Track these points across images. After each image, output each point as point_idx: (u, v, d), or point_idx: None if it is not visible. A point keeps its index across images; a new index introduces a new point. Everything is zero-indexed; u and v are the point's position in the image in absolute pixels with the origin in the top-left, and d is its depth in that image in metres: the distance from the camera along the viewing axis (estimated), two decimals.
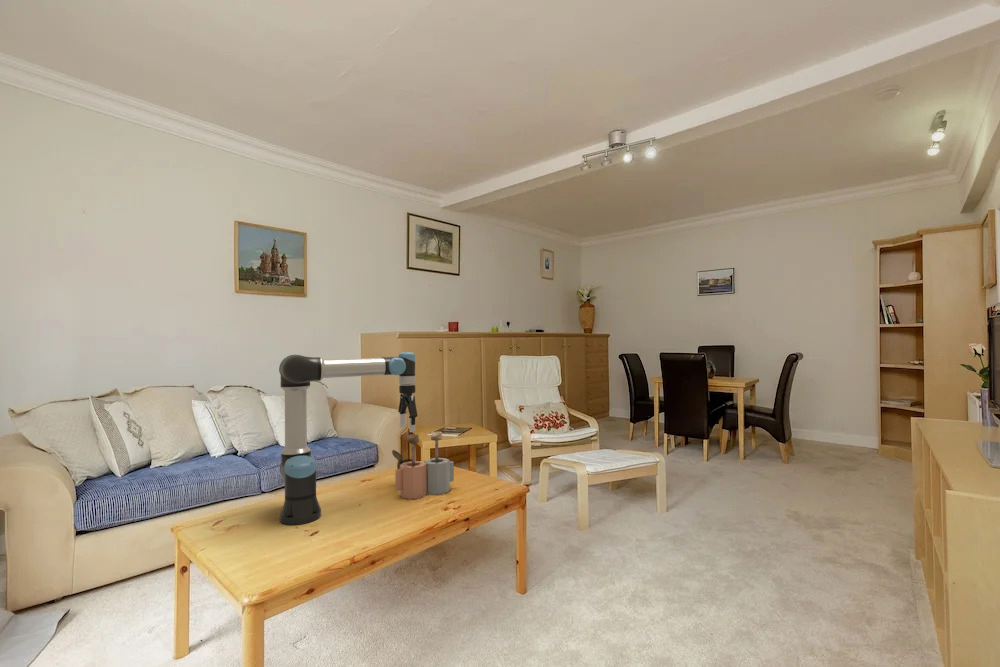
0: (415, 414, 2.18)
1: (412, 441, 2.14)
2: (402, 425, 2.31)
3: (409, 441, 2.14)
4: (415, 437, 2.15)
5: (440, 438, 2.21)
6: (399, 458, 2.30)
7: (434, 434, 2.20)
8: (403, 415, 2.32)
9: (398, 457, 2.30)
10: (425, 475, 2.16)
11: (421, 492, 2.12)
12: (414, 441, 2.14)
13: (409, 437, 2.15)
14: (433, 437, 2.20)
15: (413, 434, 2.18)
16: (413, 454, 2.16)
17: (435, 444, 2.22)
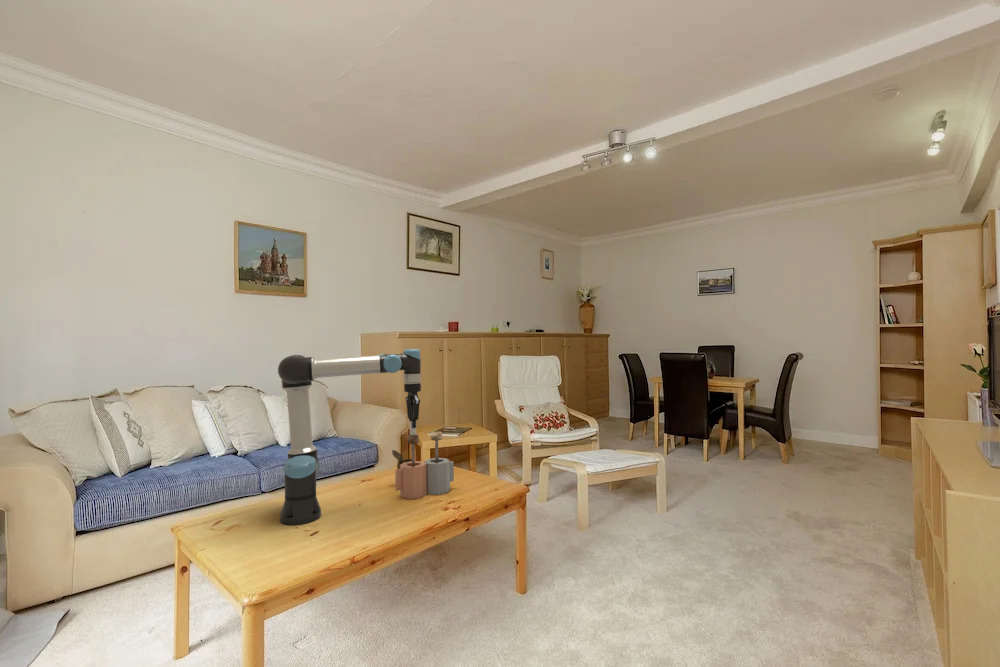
0: (416, 418, 2.14)
1: (412, 441, 2.14)
2: None
3: (409, 441, 2.14)
4: (415, 437, 2.15)
5: (440, 438, 2.21)
6: (399, 458, 2.30)
7: (434, 434, 2.20)
8: None
9: (398, 457, 2.30)
10: (425, 475, 2.16)
11: (421, 492, 2.12)
12: (414, 441, 2.14)
13: (409, 437, 2.15)
14: (433, 437, 2.20)
15: None
16: (413, 454, 2.16)
17: (435, 444, 2.22)
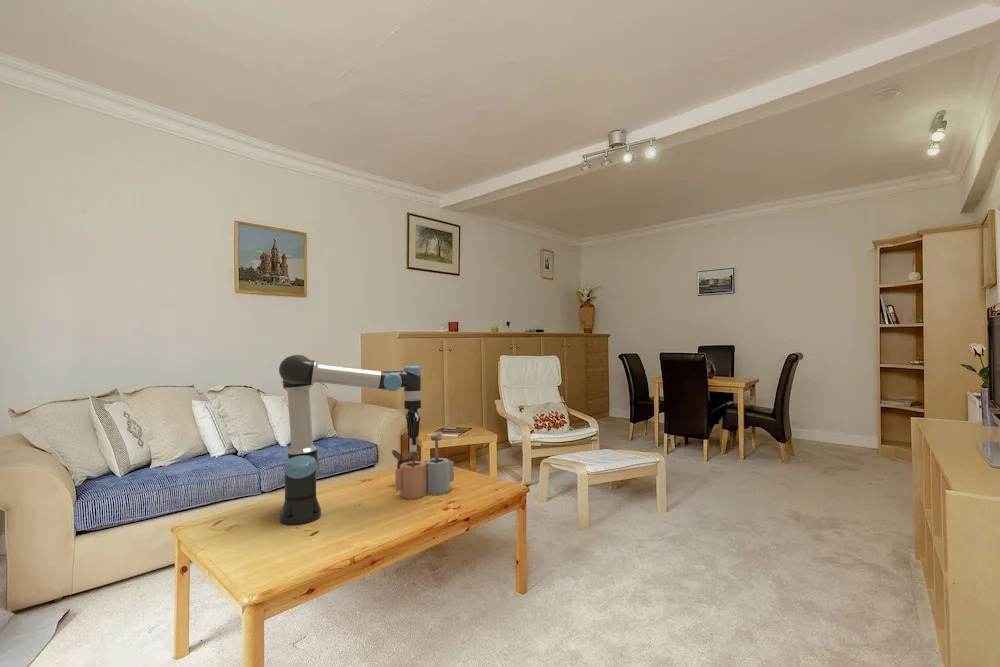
0: (416, 435, 2.14)
1: (412, 458, 2.14)
2: None
3: (409, 458, 2.14)
4: (415, 454, 2.15)
5: (440, 438, 2.21)
6: (399, 458, 2.30)
7: (434, 434, 2.20)
8: None
9: (398, 457, 2.30)
10: (425, 475, 2.16)
11: (421, 492, 2.12)
12: (414, 458, 2.14)
13: (409, 454, 2.14)
14: (433, 437, 2.20)
15: None
16: None
17: (435, 444, 2.22)
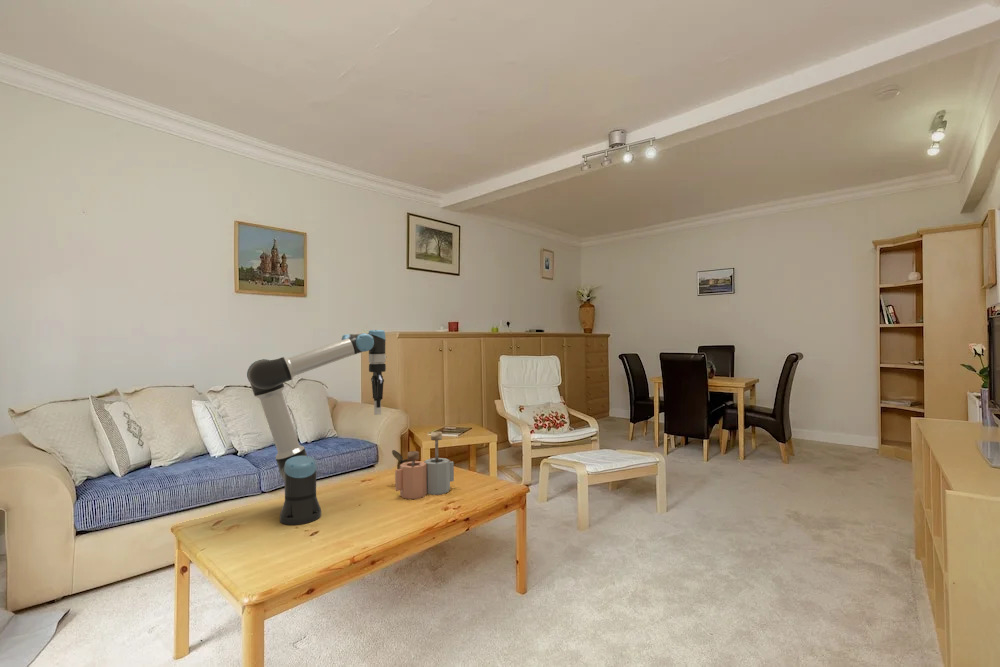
0: (380, 397, 2.17)
1: (412, 458, 2.14)
2: None
3: (409, 458, 2.14)
4: (415, 454, 2.15)
5: (440, 438, 2.21)
6: (399, 458, 2.30)
7: (434, 434, 2.20)
8: None
9: (398, 457, 2.30)
10: (425, 475, 2.16)
11: (421, 492, 2.12)
12: (414, 458, 2.14)
13: (409, 454, 2.14)
14: (433, 437, 2.20)
15: (413, 451, 2.18)
16: None
17: (435, 444, 2.22)
